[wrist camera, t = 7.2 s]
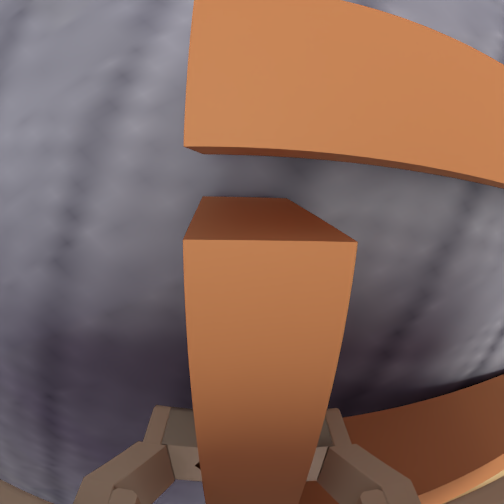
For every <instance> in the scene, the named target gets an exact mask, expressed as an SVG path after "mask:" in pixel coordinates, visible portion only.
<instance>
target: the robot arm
mask: <svg viewBox="0 0 504 504" xmlns="http://www.w3.org/2000/svg"><path fill="white" fill-rule="evenodd" d="M175 479H179V480H191V481H202V476H201V469H200V462H199V455H198V447H197V439H196V431H195V422H194V413H193V409H188V408H179V407H168V406H161V405H156V406H155V407H154V409H153V412H152V415H151V418H150V421H149V424H148V427H147V430H146V433H145V437H144V440H143V442H140V441H138V442H136V443H135V444H133V445H132V446H131V447H129V448H128V449H126V450H125V451H123V452H122V453H120V454H119V455H117V456H116V457H114V458H113V459H111V460H110V461H108V462H107V463H105V464H104V465H102V466H101V467H99V468H98V469H96V470H95V471H93V472H91V473H90V474H88V475H87V476H85V477H84V478H83V480H82V483H81V485H80V488H79V490H78V493H77V495H76V497H75V500H74V502H73V504H152V503H153V502H154V501H155V500H156V499H157V498H158V497H159V496H160V495H161V494H162V493H163V492H164V491H165V490H166V489H167V488H168V487H169V486H170V485H171V484H172V483H173V482H174V481H175ZM306 481H317V482H318V483H319V484H320V485H321V486H322V487H323V488H324V489H325V490H326V491H327V492H328V493H329V494H330V495H331V496H332V497H333V498H334V499H335V500H336V501H337V502H338V503H339V504H421V502H420V500H419V497H418V495H417V493H416V491H415V488H414V486H413V484H412V482H411V480H410V479H408V478H407V477H405V476H404V475H402V474H401V473H399V472H397V471H396V470H394V469H393V468H391V467H390V466H388V465H387V464H385V463H384V462H382V461H381V460H379V459H378V458H376V457H375V456H373V455H372V454H370V453H369V452H367V451H366V450H365V449H363V448H362V447H360V446H359V445H357V444H352V443H351V441H350V438H349V435H348V432H347V429H346V427H345V424H344V421H343V418H342V415H341V413H340V410H339V409H338V408H331V409H327V411H326V414H325V418H324V422H323V426H322V430H321V433H320V437H319V440H318V444H317V447H316V451H315V454H314V457H313V461H312V464H311V467H310V470H309V474H308V477H307V480H306ZM0 504H54V503H51V502H49V501H46V500H44V499H41V498H39V497H37V496H34V495H32V494H30V493H28V492H25V491H23V490H21V489H19V488H17V487H15V486H13V485H11V484H9V483H7V482H5V481H3V480H1V479H0ZM444 504H504V476H502V477H500V478H499V479H497V480H495V481H493V482H491V483H489V484H487V485H485V486H483V487H481V488H479V489H476V490H474V491H472V492H470V493H468V494H465V495H463V496H461V497H458V498H456V499H454V500H451V501H449V502H446V503H444Z"/></svg>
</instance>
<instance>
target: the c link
mask: <svg viewBox="0 0 504 504" xmlns="http://www.w3.org/2000/svg"><path fill="white" fill-rule="evenodd" d="M184 147H186V148H189V149H192V150H194V151H197V152H199V153H202V154H226V155H258V156H278V157H294V158H307V159H320V160H331V161H341V162H351V163H359V164H368V165H376V166H384V167H391V168H398V169H405V170H411V171H418V172H424V173H430V174H435V175H441V176H446V177H452V178H457V179H462V180H467V181H472V182H477V183H481V184H486V185H490V186H495V187H499V188H503V189H504V65H503V64H501V63H500V62H498V61H496V60H494V59H493V58H491V57H489V56H487V55H485V54H484V53H482V52H480V51H478V50H476V49H474V48H472V47H470V46H468V45H466V44H464V43H462V42H460V41H458V40H456V39H454V38H451V37H449V36H447V35H445V34H442V33H440V32H438V31H435V30H433V29H431V28H428V27H426V26H423V25H420V24H418V23H415V22H412V21H410V20H407V19H404V18H401V17H398V16H395V15H392V14H389V13H386V12H383V11H380V10H376V9H373V8H369V7H366V6H362V5H358V4H354V3H350V2H346V1H342V0H194V7H193V16H192V25H191V35H190V46H189V58H188V71H187V86H186V102H185V123H184ZM357 244H358V242H357V241H355V240H354V239H352V238H350V237H349V236H347V235H346V234H344V233H343V232H341V231H339V230H338V229H336V228H335V227H333V226H331V225H330V224H328V223H327V222H325V221H323V220H322V219H320V218H318V217H317V216H315V215H314V214H312V213H310V212H309V211H307V210H305V209H304V208H302V207H300V206H299V205H297V204H295V203H294V202H292V201H290V200H289V199H287V198H260V197H207V196H203V197H202V199H201V201H200V203H199V206H198V208H197V210H196V212H195V214H194V216H193V219H192V221H191V223H190V225H189V227H188V230H187V232H186V234H185V236H184V239H183V262H184V291H185V312H186V329H187V345H188V358H189V371H190V382H191V393H192V403H193V413H194V422H195V431H196V439H197V447H198V455H199V462H200V469H201V476H202V483H203V489H204V496H205V502H206V504H339V503H338V502H337V501H336V500H335V499H334V498H333V497H332V496H331V495H330V494H329V493H328V492H327V491H326V490H325V489H324V488H323V487H322V486H321V485H320V484H319V483H318V482H317V481H306V480H307V477H308V474H309V470H310V467H311V464H312V461H313V457H314V454H315V451H316V447H317V444H318V440H319V437H320V433H321V430H322V426H323V422H324V418H325V414H326V411H327V407H328V403H329V399H330V394H331V390H332V386H333V382H334V377H335V373H336V368H337V364H338V359H339V354H340V349H341V344H342V339H343V334H344V329H345V323H346V318H347V312H348V306H349V300H350V294H351V287H352V281H353V274H354V267H355V259H356V252H357ZM343 421H344V424H345V427H346V429H347V432H348V435H349V438H350V441H351V443H352V444H357V445H359V446H360V447H362V448H363V449H365V450H366V451H367V452H369V453H370V454H372V455H373V456H375V457H376V458H378V459H379V460H381V461H382V462H384V463H385V464H387V465H388V466H390V467H391V468H393V469H394V470H396V471H397V472H399V473H401V474H402V475H404V476H405V477H407V478H408V479H410V480H411V482H412V484H413V486H414V488H415V491H416V493H417V495H418V497H419V500H420V502H421V504H442V503H444V502H447V501H449V500H451V499H453V498H455V497H457V496H459V495H461V494H463V493H465V492H466V491H468V490H470V489H472V488H474V487H476V486H478V485H479V484H481V483H483V482H485V481H486V480H488V479H490V478H491V477H493V476H495V475H496V474H498V473H499V472H501V471H503V470H504V374H503V375H500V376H498V377H495V378H493V379H490V380H487V381H484V382H482V383H479V384H476V385H473V386H470V387H467V388H464V389H461V390H458V391H455V392H452V393H449V394H445V395H442V396H439V397H435V398H432V399H428V400H424V401H421V402H417V403H413V404H409V405H405V406H400V407H396V408H392V409H387V410H382V411H377V412H372V413H367V414H362V415H356V416H350V417H344V418H343Z"/></svg>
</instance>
